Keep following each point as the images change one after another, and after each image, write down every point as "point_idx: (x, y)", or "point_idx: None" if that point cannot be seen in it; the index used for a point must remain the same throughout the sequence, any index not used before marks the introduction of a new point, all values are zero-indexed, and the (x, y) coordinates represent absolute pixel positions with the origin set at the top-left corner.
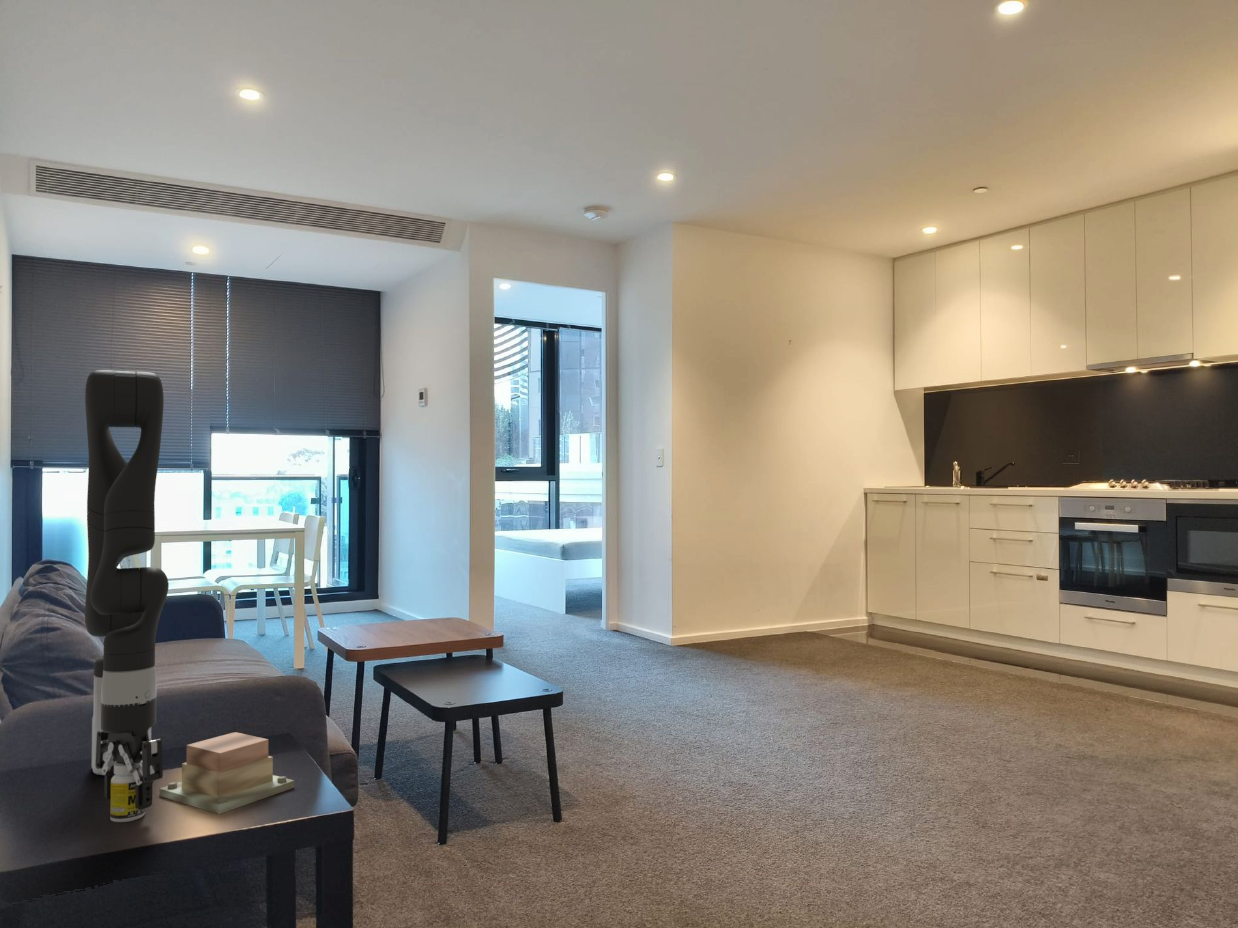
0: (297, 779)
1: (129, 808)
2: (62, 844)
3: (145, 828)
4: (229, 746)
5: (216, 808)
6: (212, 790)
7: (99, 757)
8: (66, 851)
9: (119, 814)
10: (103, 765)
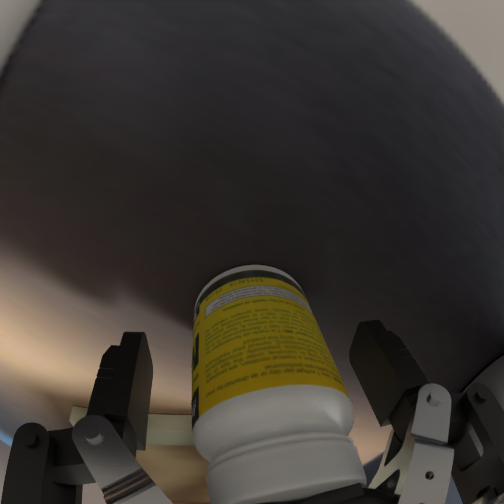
0: None
1: (195, 324)
2: (192, 32)
3: (89, 287)
4: None
5: (79, 415)
6: (145, 456)
7: (488, 429)
8: (104, 16)
9: (220, 288)
10: (449, 416)
